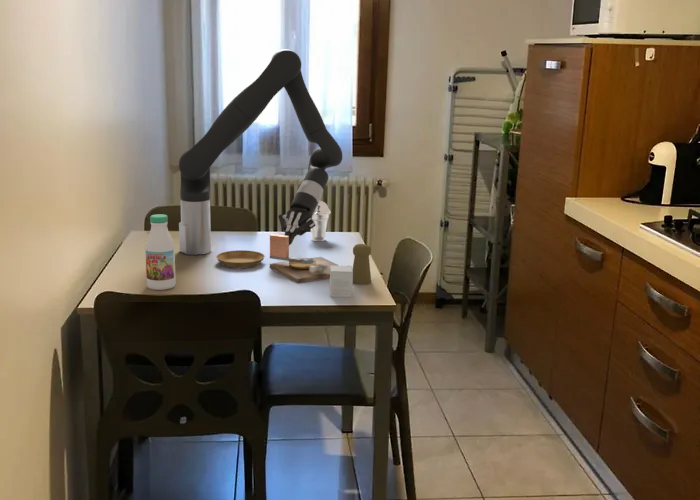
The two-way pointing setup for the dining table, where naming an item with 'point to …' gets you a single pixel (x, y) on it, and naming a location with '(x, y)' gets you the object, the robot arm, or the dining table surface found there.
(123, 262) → the dining table surface
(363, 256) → the pepper mill
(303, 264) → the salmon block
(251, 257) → the plant saucer
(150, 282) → the milk bottle
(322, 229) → the cup with straw
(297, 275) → the brown wooden cutting board
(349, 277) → the product box
